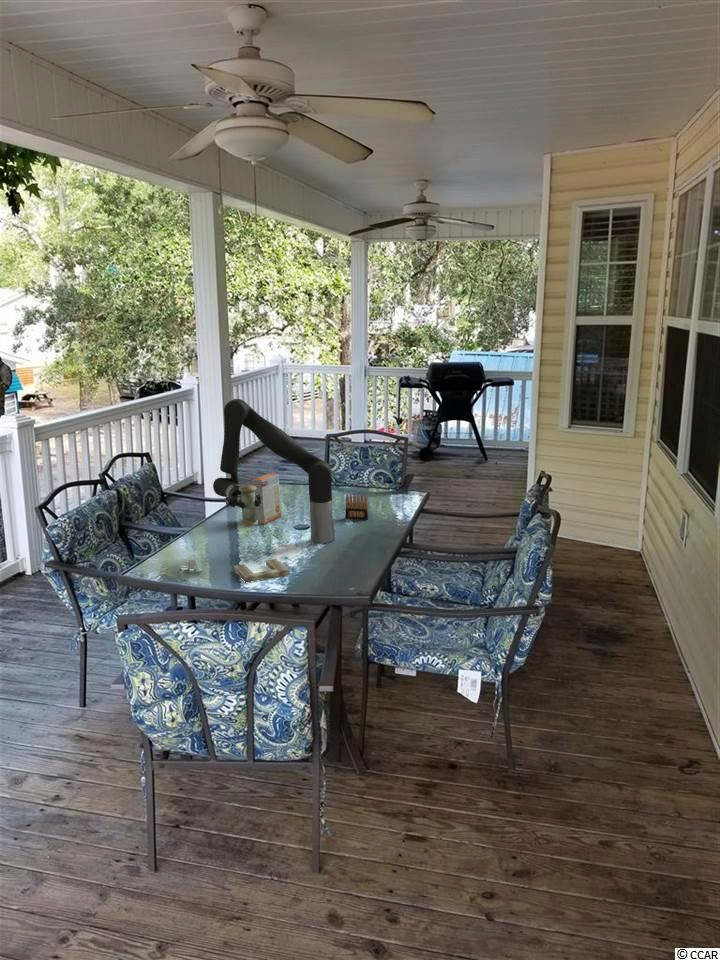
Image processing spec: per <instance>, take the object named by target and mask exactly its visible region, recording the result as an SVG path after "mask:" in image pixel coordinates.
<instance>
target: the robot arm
mask: <svg viewBox="0 0 720 960" xmlns="http://www.w3.org/2000/svg"><path fill="white" fill-rule="evenodd" d="M223 418H224V419H223V420H224V421H223V422H224V432H223V434H224V435H223V436H224V437H223V444H222V449H221V450H222V451H221V458H220V467H219V469H220V471H221V472H222V473H225V474H228V475H230V477H217V478H216V479H215V480H214V481H213V485H212V488H213V491H214V493H215V494H216V495H218V496H219V497H224V498H225V505H226V506H228V507H231V508H241V510H242V509H243V508H244V503H243V502H242V501H241V491H239V487H242V486H243V485H240V481H239V473H238V472H239V471H238V470H239V469H238V468H239V461H240V460H239V459H240V438H241V437H240V436H241V430H242V427H245V428H247V429H248V430H249V431H251V432H252V433H253V434H254V436H256V438H257V439H258V440H259V441H260V442H261V443H262V444H263V445H264V446H265V447H266V448H267V449H269V450H270V451H271V452H272V453H274V454H275V455H277V456H278V457H280V458H282V459H284V460H286V461H289V462H291V463H293V464H295V465H297V466H298V467H300V468H301V469H302V470H303V471H305V472H306V473H307V475H308V495H309V508H310V509H309V518H310V521H309V522H310V542H312V543H316V544H327V543H332V542H333V541H336V536H335V535H336V534H335V533H336V531H335V530H336V529H335V527H336V526H335V523H336V522H335V518H334V517H333V492H332V491H333V490H332V474H333V473H332V468H331V465H329V463H328V462H326V461H325V460H323V459H322V458H319V457H318V456H317V455H314V454H313V453H311V452H310V451H308V450H307V449H306V448H305V447H304V446H303V445H301V444H300V443H299V442H298V441H296V440H295V439H294V438H293V437H291V436H290V435H289V434H288V433H286V432H285V431H283V430H282V429H281V428H279V427H278V426H277V425H275V424H273V423H272V422H270V421H269V420H267V419H266V418H264V417H262V415H260V414H259V413H258V411H255V409H253V407H251V406H250V405H249V404H248V403H247V402H246V401H245V400H243V399H239V398H234V399H231V400H229V401H228V402H227V403H226V404H225V405H224V408H223ZM260 504H261V496H260V494H257V495H256V496H255V506H256V507H258V506H259V505H260Z"/></svg>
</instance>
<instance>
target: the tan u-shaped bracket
mask: <svg viewBox="0 0 720 960" xmlns="http://www.w3.org/2000/svg"><path fill="white" fill-rule="evenodd" d="M265 565H266V567H267V568H268V569H269V570H264V571H259V572H253V571H252V569H249V567H248V566H247V564H243V563H242V564H238V565H237V564H236V565H233V571H234V570H235V571H236V572H235V571H234V572H235V574H236V575H237V574H238V575H239V576H240V577H241V578H242V579H243V580H244V581H245V582H244V581H243V580H242V579H241V578H240V577H239V576H238V575H237V576H238V577H239V578H240V579H241V580H242V581H243V582H244V583H245V584H247V583H246V582H249V583H252V582H251V581H254V582H258V581H257V580H260V581H264V580H265V581H266V580H271V579H275V578H280V577H287V576H290V569H289V568H287V567H286V566H285V565H284V563H281V562H280V561H279V560H278V559H277V558H272V559H267V560H265Z"/></svg>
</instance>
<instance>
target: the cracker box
mask: <svg viewBox="0 0 720 960" xmlns="http://www.w3.org/2000/svg"><path fill="white" fill-rule="evenodd" d="M251 486H256V490H255V496H256V495H257V494H260V496H261V504H260V505H259V506H258V507H256V506H255V508H256V520H257V521H258V524H257V525H266V524H268V523H272V522H273V521H275V520H277V519H279V518H282V509H281V508H282V506H281V505H282V504H281V489H280V488H281V487H280V474H279V473H271V472H269V473H266V474H264V475H261V476H258V477H255V478H252V479H251Z"/></svg>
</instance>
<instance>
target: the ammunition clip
mask: <svg viewBox="0 0 720 960" xmlns="http://www.w3.org/2000/svg"><path fill="white" fill-rule="evenodd" d="M368 507H369V505H368V497H367V494H364V496H363V494H362V493H361V495H359V494H358V493H357V495H356V493H353V496H352V493H350V494H348V493H346V495H345V511H344V513H345V514H344V519H345V520H357V519H359V520H358V521H361V520H362V521H368V520H369V508H368Z"/></svg>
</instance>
